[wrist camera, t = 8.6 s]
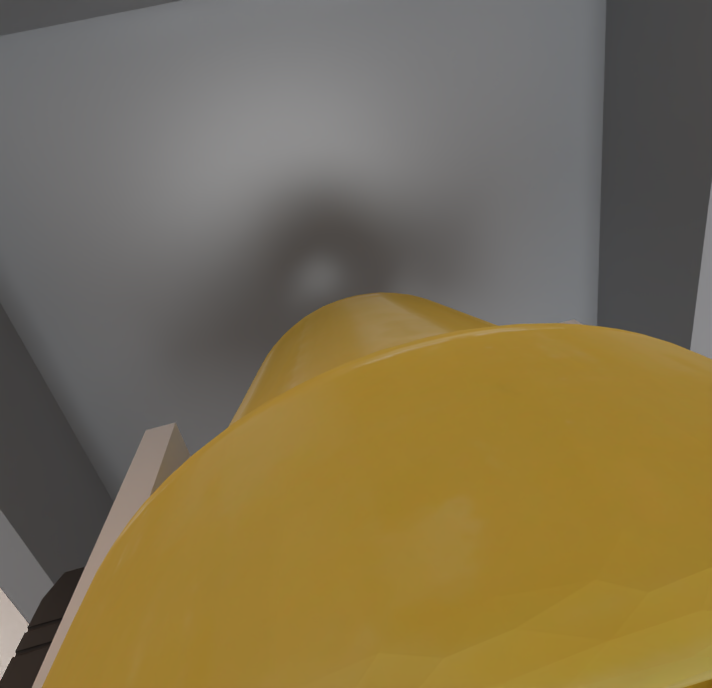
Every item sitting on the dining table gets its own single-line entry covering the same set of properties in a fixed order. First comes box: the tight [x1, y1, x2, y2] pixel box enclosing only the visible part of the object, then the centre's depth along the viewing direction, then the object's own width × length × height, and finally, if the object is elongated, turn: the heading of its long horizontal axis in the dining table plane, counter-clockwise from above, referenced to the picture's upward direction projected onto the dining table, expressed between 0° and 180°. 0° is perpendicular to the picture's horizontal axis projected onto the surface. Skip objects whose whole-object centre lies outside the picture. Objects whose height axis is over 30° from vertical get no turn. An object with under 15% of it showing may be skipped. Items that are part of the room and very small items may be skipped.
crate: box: [0, 0, 712, 624], centre depth 17 cm, size 26×26×6 cm
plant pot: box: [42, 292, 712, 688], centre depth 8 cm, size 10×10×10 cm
